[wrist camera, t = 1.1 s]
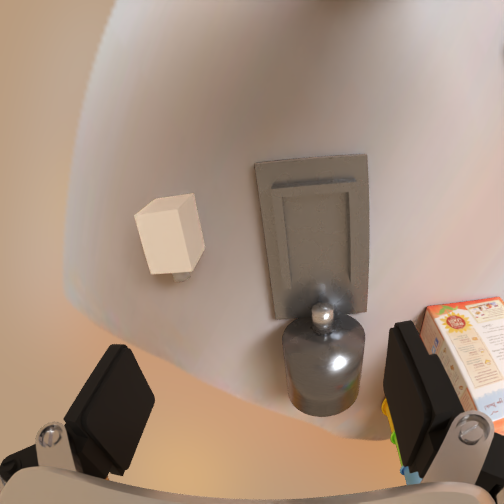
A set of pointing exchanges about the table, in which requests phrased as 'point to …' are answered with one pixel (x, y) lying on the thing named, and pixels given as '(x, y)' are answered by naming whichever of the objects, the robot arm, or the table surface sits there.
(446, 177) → the table surface
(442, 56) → the table surface
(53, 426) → the robot arm
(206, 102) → the table surface
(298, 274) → the electric bell
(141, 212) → the block
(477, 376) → the cracker box
